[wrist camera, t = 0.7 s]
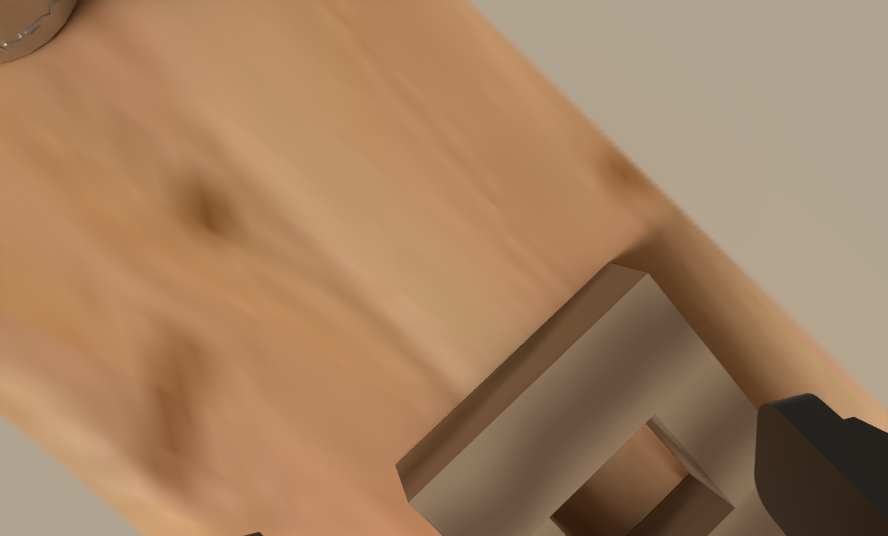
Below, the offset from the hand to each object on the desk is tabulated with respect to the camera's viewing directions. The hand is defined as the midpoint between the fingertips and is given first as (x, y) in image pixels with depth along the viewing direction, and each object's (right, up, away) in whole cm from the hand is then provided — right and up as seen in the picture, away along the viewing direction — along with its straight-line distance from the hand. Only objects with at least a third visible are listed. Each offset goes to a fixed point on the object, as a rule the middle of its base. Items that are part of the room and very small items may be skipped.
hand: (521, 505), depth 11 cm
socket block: (+8, -8, +26) cm, 28 cm away
